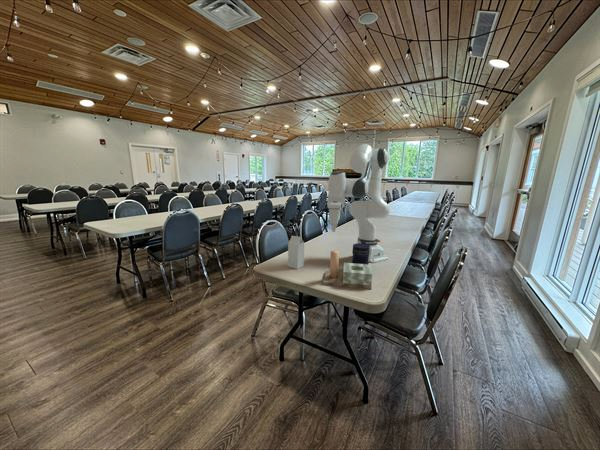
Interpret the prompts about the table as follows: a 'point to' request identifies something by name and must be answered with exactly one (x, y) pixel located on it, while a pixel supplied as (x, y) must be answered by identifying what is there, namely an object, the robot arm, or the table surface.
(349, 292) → the table surface
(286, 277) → the table surface
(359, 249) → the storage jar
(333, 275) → the peg
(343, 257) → the table surface
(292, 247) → the milk carton
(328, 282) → the socket board
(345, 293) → the table surface
